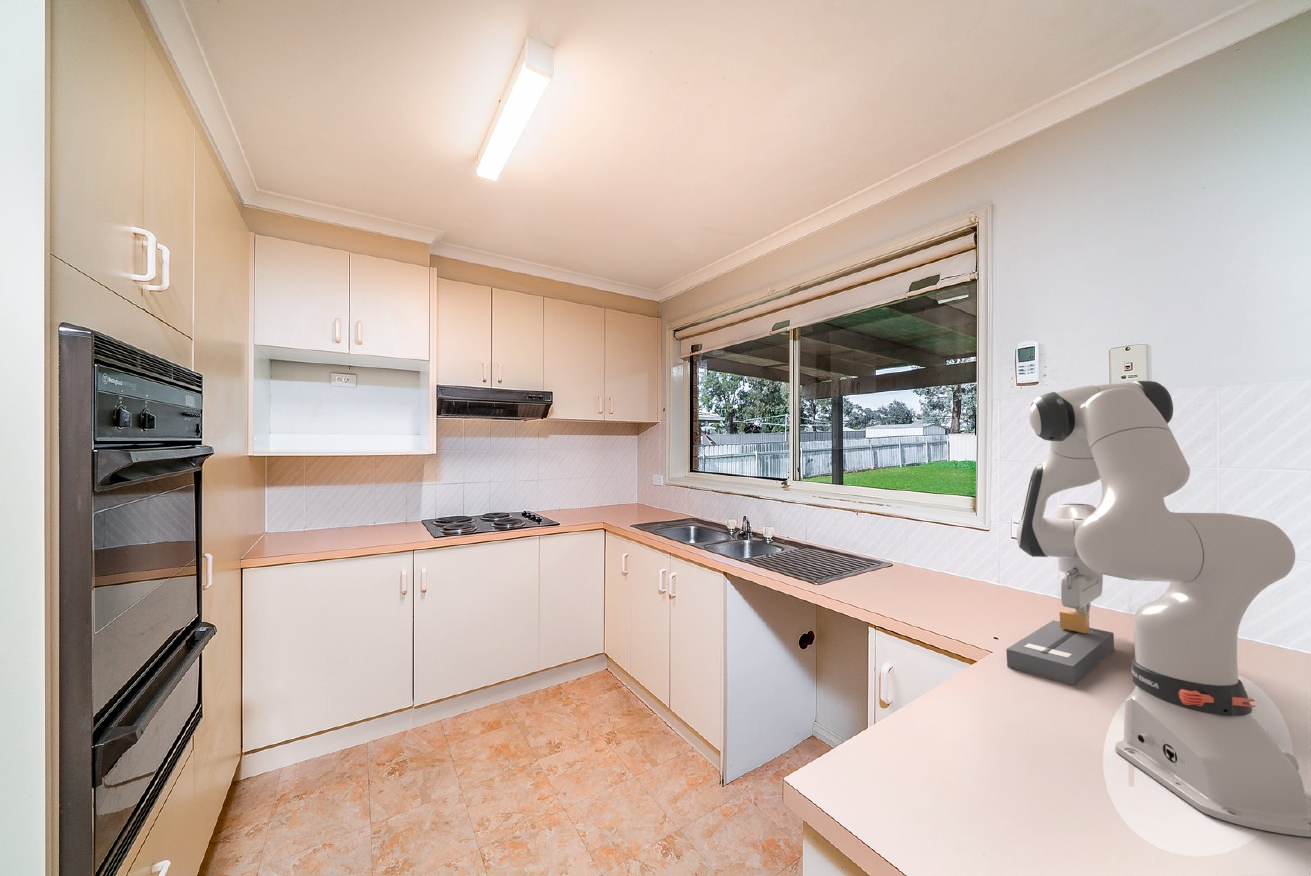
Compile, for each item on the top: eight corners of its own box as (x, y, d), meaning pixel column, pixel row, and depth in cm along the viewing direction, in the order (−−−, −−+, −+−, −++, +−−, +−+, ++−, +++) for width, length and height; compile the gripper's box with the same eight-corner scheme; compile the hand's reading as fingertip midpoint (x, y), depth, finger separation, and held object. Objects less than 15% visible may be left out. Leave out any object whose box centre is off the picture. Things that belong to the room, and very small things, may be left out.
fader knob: (1085, 633, 119) (1085, 616, 119) (1060, 627, 123) (1059, 611, 123) (1089, 630, 121) (1088, 614, 121) (1064, 625, 125) (1063, 609, 125)
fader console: (1074, 685, 102) (1072, 665, 102) (1007, 666, 112) (1006, 648, 112) (1114, 649, 120) (1113, 632, 120) (1054, 635, 130) (1053, 619, 130)
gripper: (1083, 573, 118) (1087, 631, 117) (1106, 562, 130) (1110, 614, 129) (1051, 569, 123) (1054, 624, 122) (1076, 558, 135) (1079, 609, 134)
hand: (1083, 619), depth 126 cm, fingers closed
